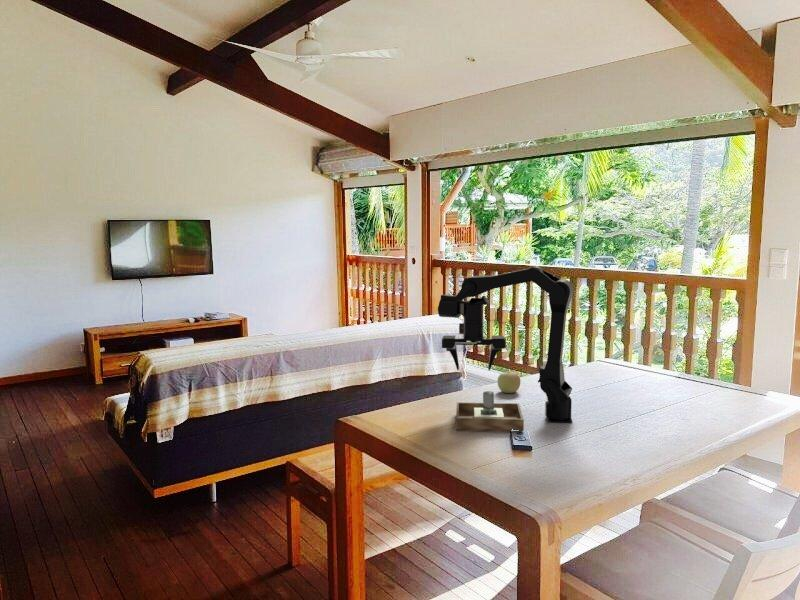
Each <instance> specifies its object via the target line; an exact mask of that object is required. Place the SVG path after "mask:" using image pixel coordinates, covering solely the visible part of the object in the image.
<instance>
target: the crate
mask: <svg viewBox="0 0 800 600" xmlns="http://www.w3.org/2000/svg"><path fill="white" fill-rule="evenodd" d="M474 408H483V402H460V401H459V402H456V414H455V420H456V421H455V423H456V424H455V426H456V427H455V430H456V431H455V432H458V431H459V432H493V433H494V432H495V433H496V432H502V433H511V432H510V431H511V430H512V429H513V430H519V431H524V432H525V430H524V424H525V423H524V421H525V418H524V415H523V413H522V409H521V406H520V403H516V402H514V403H513V402H511V403H510V402H494V408H502V410H503V415H504V418H474Z"/></svg>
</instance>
